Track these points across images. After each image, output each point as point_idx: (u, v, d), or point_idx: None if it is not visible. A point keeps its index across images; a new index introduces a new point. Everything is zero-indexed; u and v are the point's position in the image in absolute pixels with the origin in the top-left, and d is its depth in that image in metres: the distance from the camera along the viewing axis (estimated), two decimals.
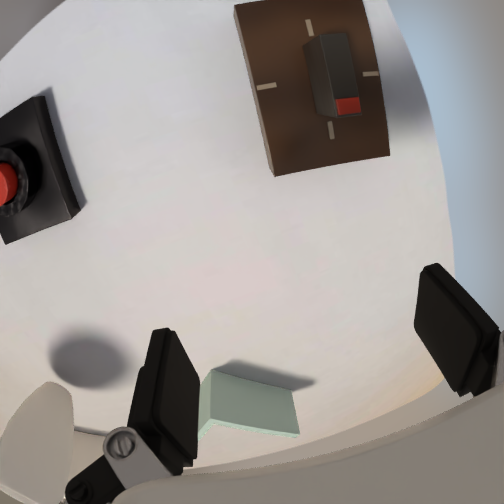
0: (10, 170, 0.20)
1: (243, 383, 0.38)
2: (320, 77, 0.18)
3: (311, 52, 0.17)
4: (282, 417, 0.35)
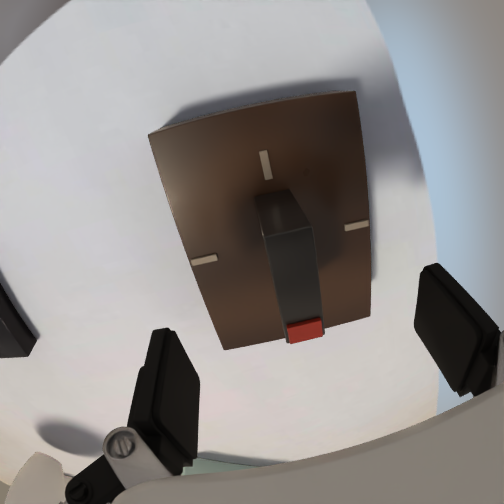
0: None
1: (216, 466, 0.34)
2: None
3: None
4: None
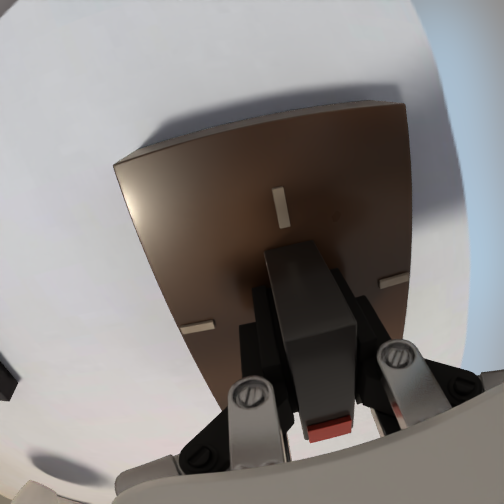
0: None
1: None
2: None
3: None
4: None
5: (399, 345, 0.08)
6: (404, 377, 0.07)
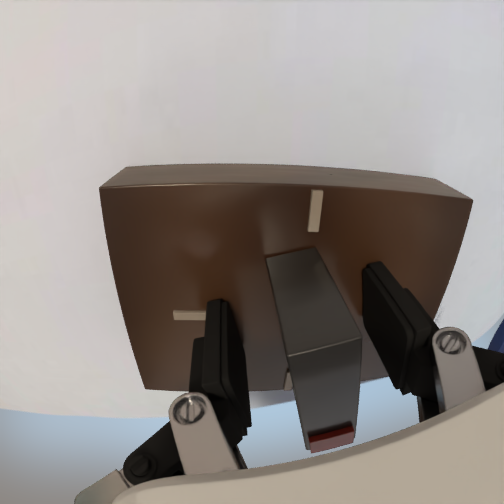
0: None
1: None
2: None
3: None
4: None
5: (454, 333, 0.07)
6: (452, 363, 0.06)
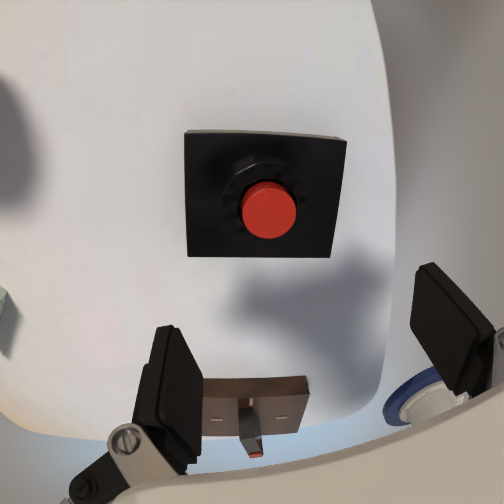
0: None
1: None
2: None
3: None
4: None
5: None
6: None
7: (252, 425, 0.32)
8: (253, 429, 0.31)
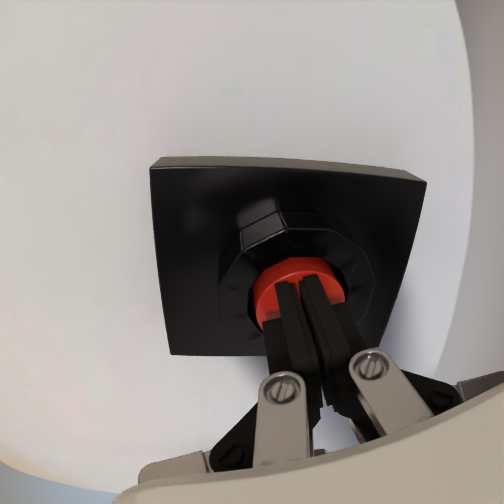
0: None
1: None
2: None
3: None
4: None
5: (371, 355, 0.08)
6: (380, 388, 0.07)
7: None
8: None
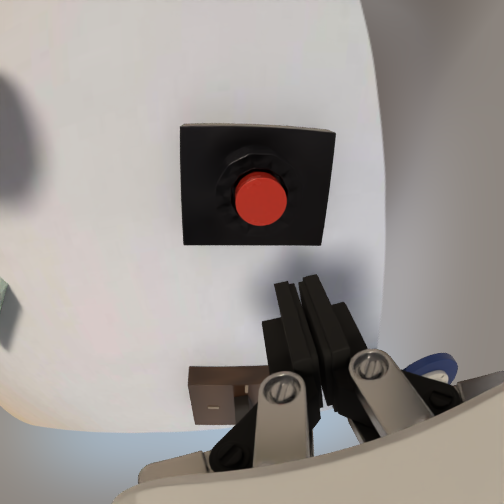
0: None
1: None
2: None
3: None
4: None
5: (371, 355, 0.08)
6: (380, 388, 0.07)
7: None
8: None
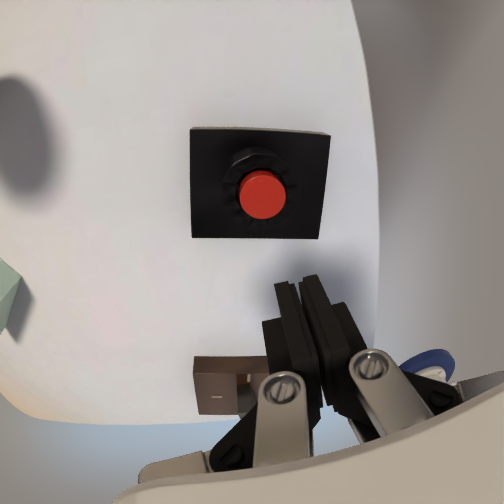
0: None
1: (11, 300, 0.32)
2: None
3: None
4: None
5: (371, 355, 0.08)
6: (380, 388, 0.07)
7: (250, 400, 0.35)
8: (251, 403, 0.35)
